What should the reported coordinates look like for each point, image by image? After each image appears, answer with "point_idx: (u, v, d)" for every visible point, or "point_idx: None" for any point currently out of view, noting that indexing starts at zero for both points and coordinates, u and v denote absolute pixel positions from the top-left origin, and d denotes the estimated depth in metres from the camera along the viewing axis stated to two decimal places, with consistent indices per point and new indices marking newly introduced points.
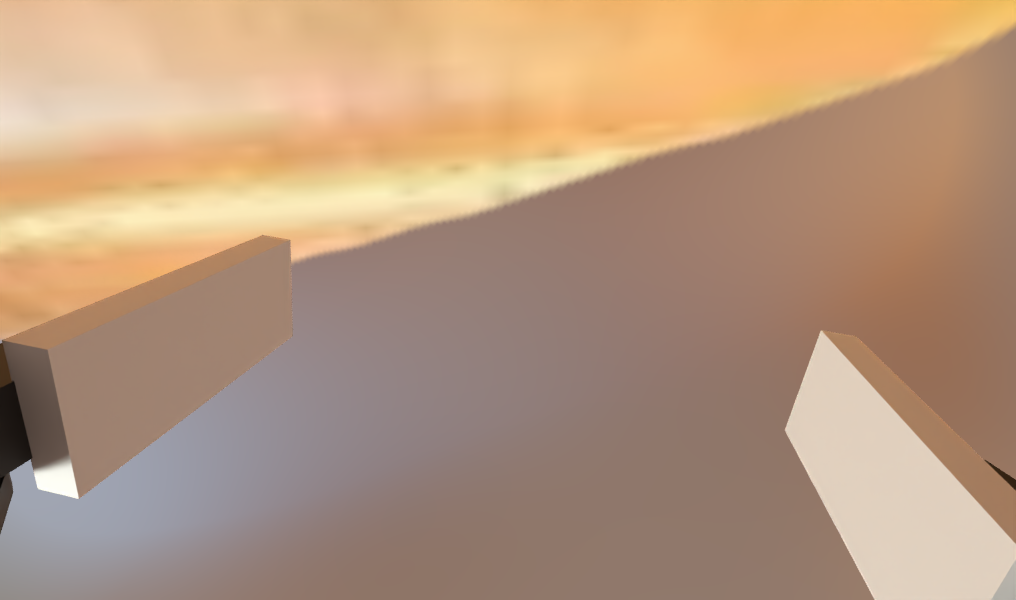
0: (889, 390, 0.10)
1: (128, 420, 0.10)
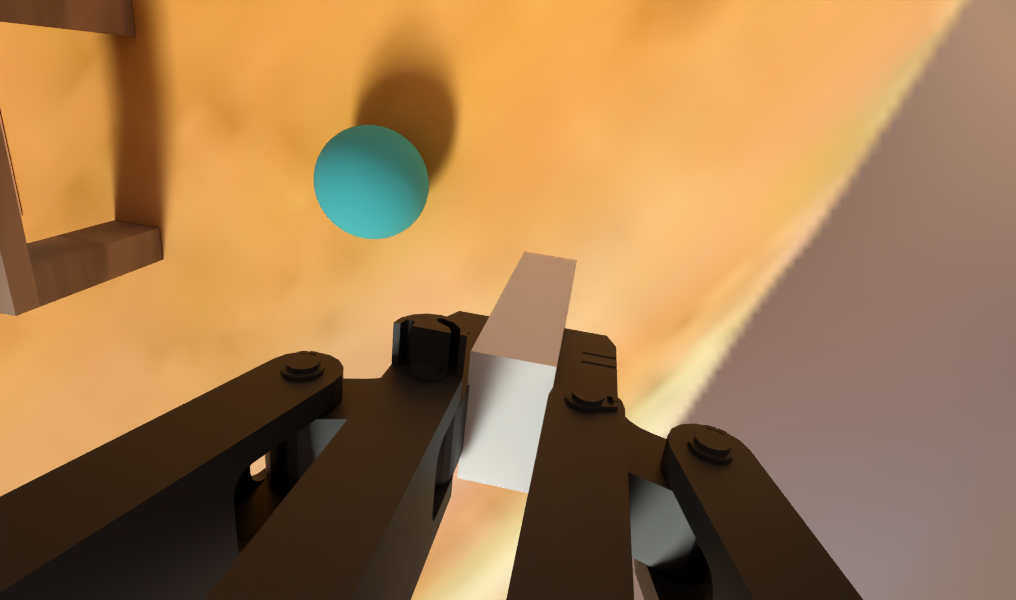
0: (551, 288, 0.13)
1: None
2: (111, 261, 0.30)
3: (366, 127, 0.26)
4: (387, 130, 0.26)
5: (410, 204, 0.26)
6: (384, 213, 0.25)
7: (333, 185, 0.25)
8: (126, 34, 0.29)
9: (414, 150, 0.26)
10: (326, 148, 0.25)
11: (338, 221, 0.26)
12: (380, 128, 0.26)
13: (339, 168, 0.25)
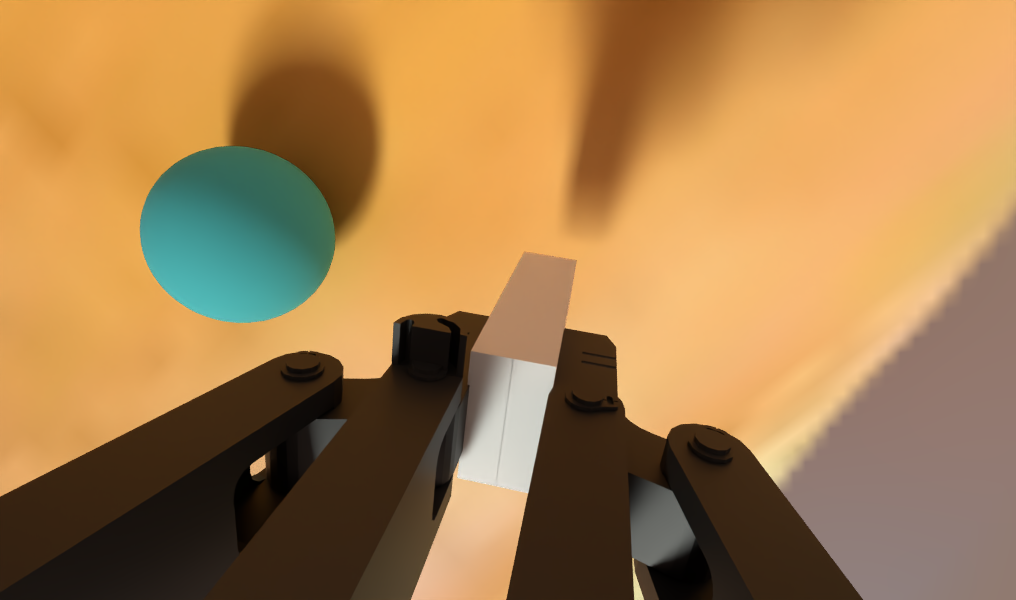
0: (551, 288, 0.13)
1: None
2: None
3: (222, 151, 0.16)
4: (259, 154, 0.16)
5: (295, 274, 0.16)
6: (248, 291, 0.16)
7: (159, 248, 0.15)
8: None
9: (303, 187, 0.16)
10: (154, 185, 0.16)
11: (179, 301, 0.16)
12: (245, 152, 0.16)
13: (166, 220, 0.15)
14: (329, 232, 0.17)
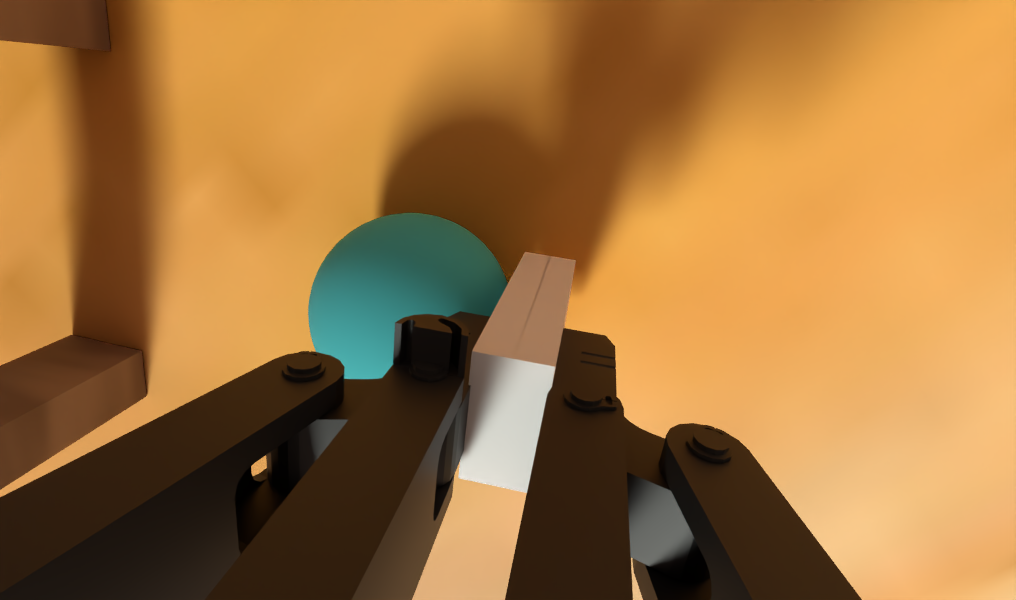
0: (550, 287, 0.13)
1: None
2: (55, 427, 0.18)
3: (398, 219, 0.14)
4: (430, 229, 0.14)
5: None
6: None
7: (309, 308, 0.14)
8: (93, 47, 0.17)
9: (460, 277, 0.13)
10: None
11: None
12: (419, 225, 0.14)
13: (317, 283, 0.14)
14: None
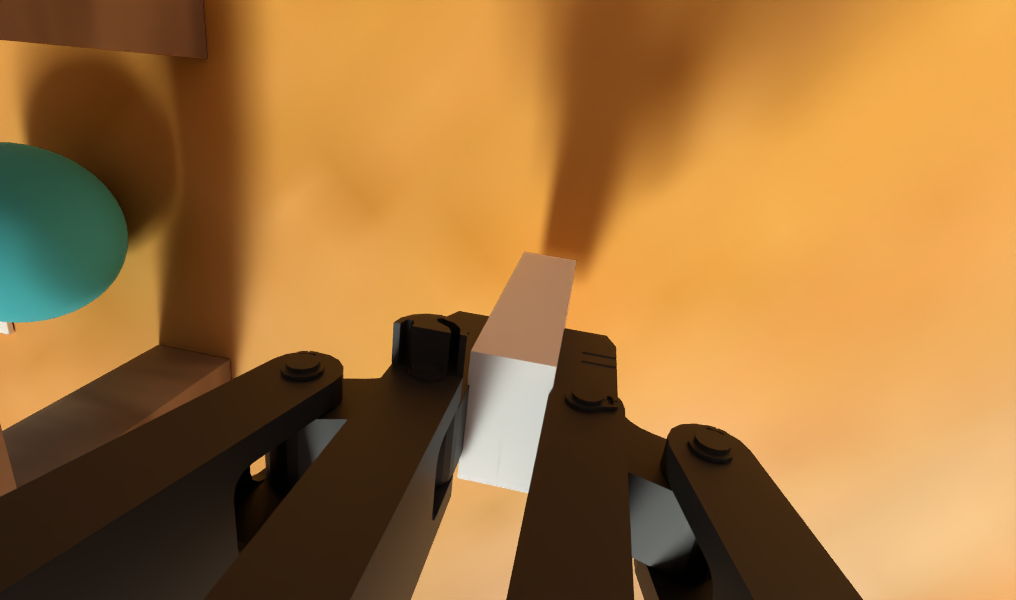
0: (550, 287, 0.13)
1: None
2: None
3: None
4: (10, 151, 0.16)
5: (22, 277, 0.15)
6: None
7: None
8: (193, 55, 0.16)
9: (48, 188, 0.16)
10: None
11: None
12: None
13: None
14: (86, 237, 0.16)
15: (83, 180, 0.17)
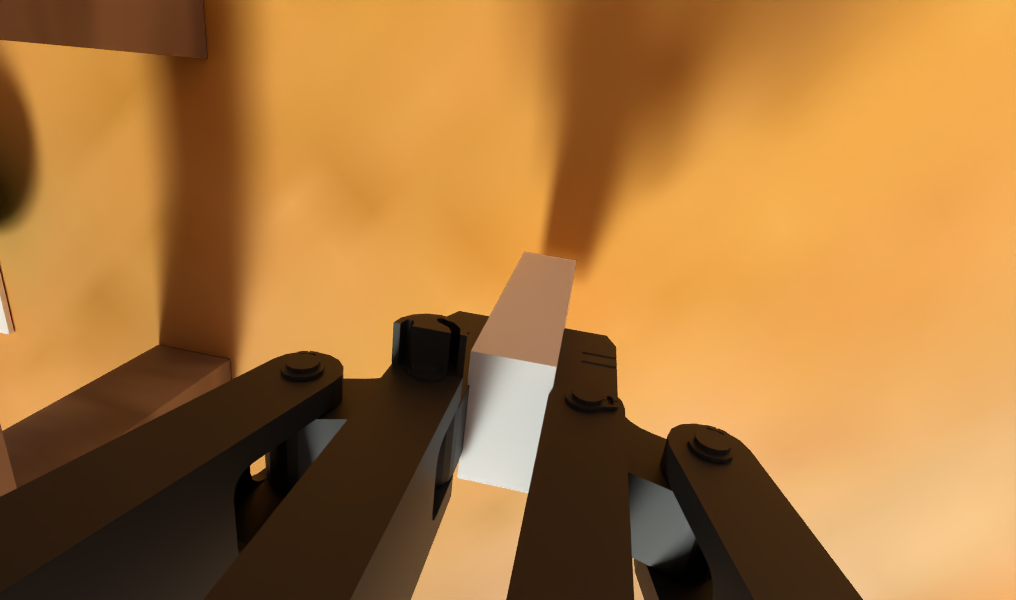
0: (550, 287, 0.13)
1: None
2: None
3: None
4: None
5: None
6: None
7: None
8: (193, 55, 0.16)
9: None
10: None
11: None
12: None
13: None
14: None
15: None
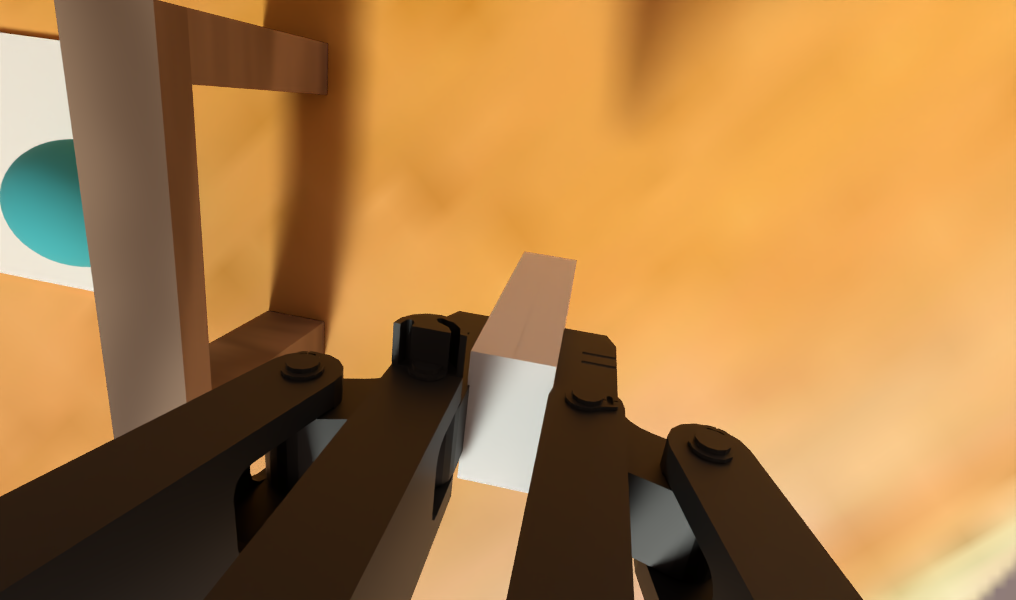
0: (551, 288, 0.13)
1: None
2: None
3: None
4: (49, 142, 0.23)
5: None
6: None
7: None
8: (320, 92, 0.23)
9: (14, 163, 0.22)
10: None
11: None
12: (57, 140, 0.23)
13: None
14: (4, 201, 0.22)
15: (33, 166, 0.22)
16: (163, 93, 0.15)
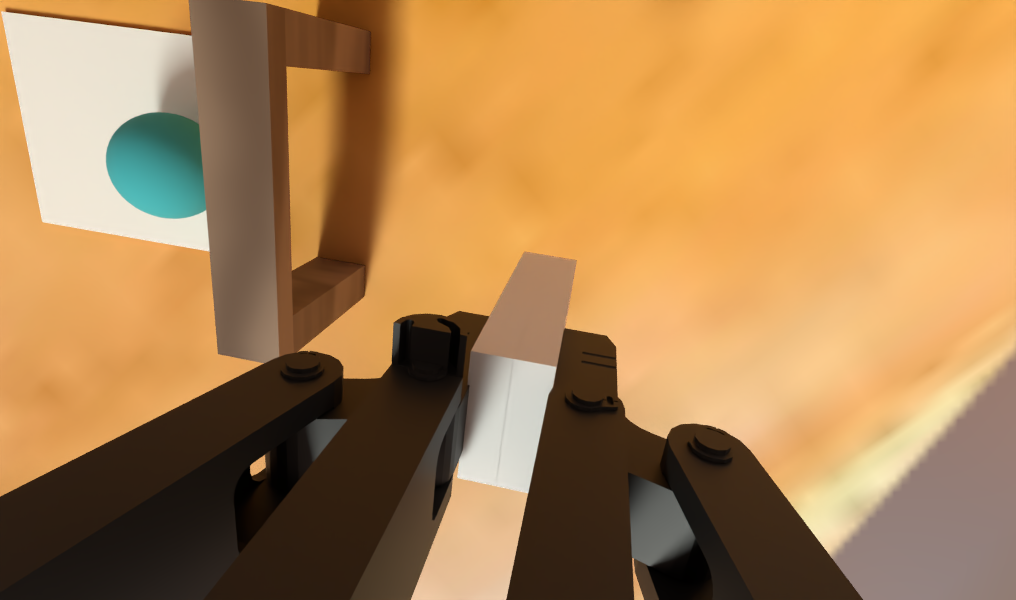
0: (551, 287, 0.13)
1: None
2: (336, 303, 0.29)
3: None
4: (144, 114, 0.28)
5: None
6: None
7: None
8: (364, 72, 0.28)
9: (118, 131, 0.27)
10: None
11: None
12: (148, 113, 0.28)
13: None
14: (112, 162, 0.27)
15: (135, 134, 0.27)
16: (270, 73, 0.20)
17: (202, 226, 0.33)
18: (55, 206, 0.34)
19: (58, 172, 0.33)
